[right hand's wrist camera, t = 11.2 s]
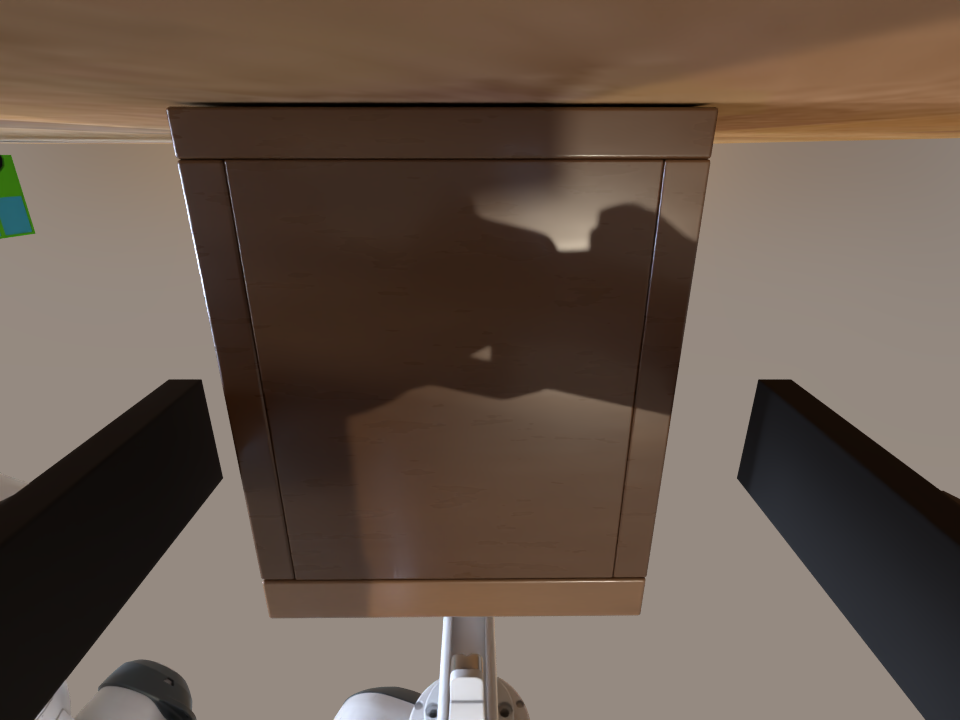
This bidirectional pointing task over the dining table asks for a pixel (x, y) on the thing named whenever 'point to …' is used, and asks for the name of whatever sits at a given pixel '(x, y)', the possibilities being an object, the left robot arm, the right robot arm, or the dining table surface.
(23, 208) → the toy car
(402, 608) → the lid
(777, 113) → the dining table surface
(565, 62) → the dining table surface
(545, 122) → the chest
